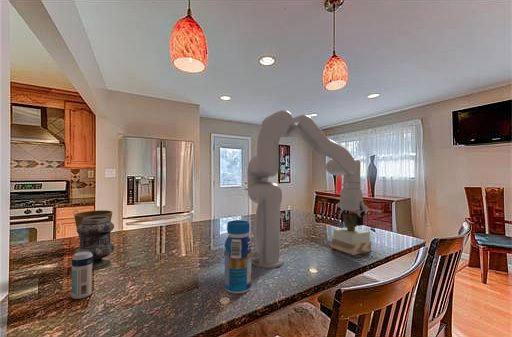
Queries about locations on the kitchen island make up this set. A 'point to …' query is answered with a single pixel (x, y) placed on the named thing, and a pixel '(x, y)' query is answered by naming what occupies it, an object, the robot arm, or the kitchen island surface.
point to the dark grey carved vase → (96, 239)
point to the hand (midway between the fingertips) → (351, 223)
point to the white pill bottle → (81, 275)
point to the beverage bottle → (237, 257)
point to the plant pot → (82, 215)
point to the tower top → (352, 236)
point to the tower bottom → (351, 247)
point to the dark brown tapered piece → (350, 220)
